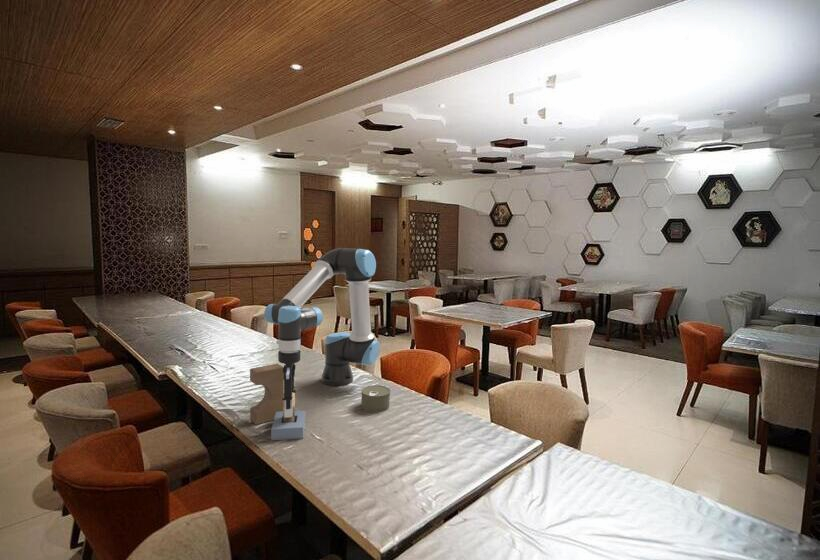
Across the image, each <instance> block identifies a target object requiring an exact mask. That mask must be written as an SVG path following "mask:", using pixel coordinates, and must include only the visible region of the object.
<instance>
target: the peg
mask: <svg viewBox="0 0 820 560" xmlns="http://www.w3.org/2000/svg"><path fill="white" fill-rule="evenodd" d="M295 396H296V393H293V392H292V399H293V416H292V417H284V400H283V417H284V423H291V422H294V416H295V411H296V410H295V407H296V406H295V405H296V404H295V403H296V397H295ZM283 398H284V394H283Z"/></svg>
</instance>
